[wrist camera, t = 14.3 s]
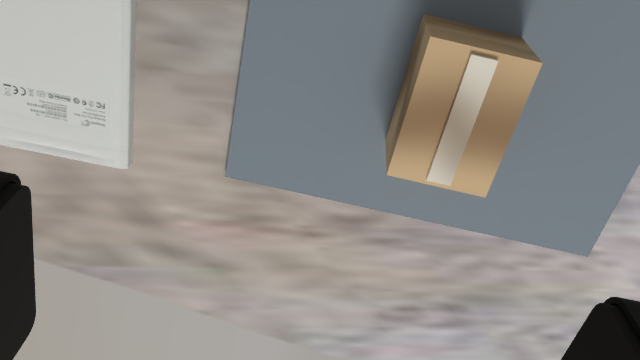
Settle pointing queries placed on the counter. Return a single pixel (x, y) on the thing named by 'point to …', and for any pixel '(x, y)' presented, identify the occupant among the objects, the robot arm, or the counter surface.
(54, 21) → the external hard drive
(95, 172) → the counter surface
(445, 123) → the taped cardboard box
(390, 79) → the mat
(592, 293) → the counter surface
